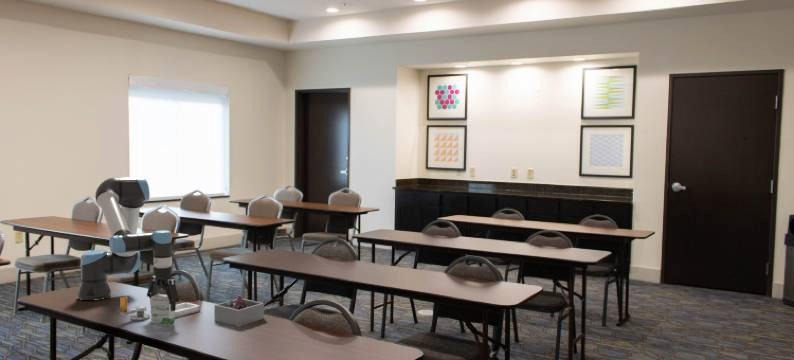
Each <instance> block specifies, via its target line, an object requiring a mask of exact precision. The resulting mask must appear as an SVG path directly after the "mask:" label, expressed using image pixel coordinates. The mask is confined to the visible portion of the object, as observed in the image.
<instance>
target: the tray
mask: <svg viewBox="0 0 794 360" xmlns="http://www.w3.org/2000/svg"><path fill="white" fill-rule="evenodd" d="M200 311H201V305H200V304H195V303H191V302H188V301H186V302H182V303H179V304H176V310H175V317H174V319H176V318H179V317H183V316H187V315H191V314H194V313H197V312H200ZM190 313H191V314H190Z"/></svg>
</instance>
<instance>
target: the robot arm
mask: <svg viewBox="0 0 794 360" xmlns="http://www.w3.org/2000/svg"><path fill="white" fill-rule="evenodd" d="M150 195H151V194H150V187H149V183H148V181H147V180H146V178H145V177H137V176H134V177H110V178H106V179H105V180H104V181H102V182H100V184H99V186H98V187H97V188H96V192H95V202H96V204H97V206H98V207H99V208H101V210H102V213H103V216H104V218H105V221H106V223H107V227H108V229H109V232H110V234H111V236H110V238H109V240H108V242H109V243H108V245H109V250H110V251H107V249H94V250H89V251H86V252H84V253H82V255H81V258H80V276H81V277H80V282H81V283H80V286H79V289H78V292H77V300H78V299H82V300H94V299H102V298H107V297H109V296H111V297H112V290H111V288H110V285H109V283H108V282H109V281H108V276H113V275H121V274H129V273H134V272H136V271H138V270H139V267H140V264H141V259H140V258H141V253H140V252H144V251H152V255H153V256H152V257H153V262H152V263H153V265H152V266H153V269H152V270H153V272H152V273H153V275H152V276H150V280H149V285H148V289H147V291H146V292H147V293H146V297H148V298H149V302H150V305H149V306H151V297H152V296H154V295H156V294H159V291H160V289H162V290H163V291H164V292H165V295H167V297H168V299H169V301H170V303H169V319H171V318H174V317H175V310H176V305H177V304H176V303H180V298H179V294H178V291H177V287H176V279H174V278H173V279H171V277H170V276H171V275H172V274H173V273H172V272H173V268H172V265H173V257H172V253H173V252H172V250H173V249H172V246H173V243H172V240H173V236H172V232H171V231H170V230H165V229H164V230H163V229H162V230H155V231H149V232H147V233H137V231H138V224H139V218H140V217H139V216H140V210H141V208H143V207H144V205H145V202H147V201H149V200H150V197H151V196H150ZM109 298H110V297H109ZM107 299H108V298H107ZM174 319H175V318H174Z"/></svg>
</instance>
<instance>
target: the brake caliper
mask: <svg viewBox="0 0 794 360" xmlns="http://www.w3.org/2000/svg"><path fill="white" fill-rule="evenodd" d="M236 299H237V300H236V303H232V300H233V299H227V301H226V302H227V305H229V307H228V308H232V309H237V310H240V309H244V308H247V307H246V304H245V302H244V300H243V299H244V298H243V297H242V295H240V294H239V295H238V296H237V297H236ZM237 302H238V303H237ZM240 304H242V305H243V306H241V305H240ZM241 307H242V308H241Z"/></svg>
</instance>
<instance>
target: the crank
mask: <svg viewBox="0 0 794 360" xmlns="http://www.w3.org/2000/svg"><path fill="white" fill-rule="evenodd" d="M119 300H120V315H121V316H127V315H131V314H136V313H137V312H143V311H144V312H146V311H147V309H148V308H147V306H144V305H143V306H142V305H139V306H135V307H134V308H130V309H128V296H127V295H126V296H125V295H123V296H120V299H119Z"/></svg>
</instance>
